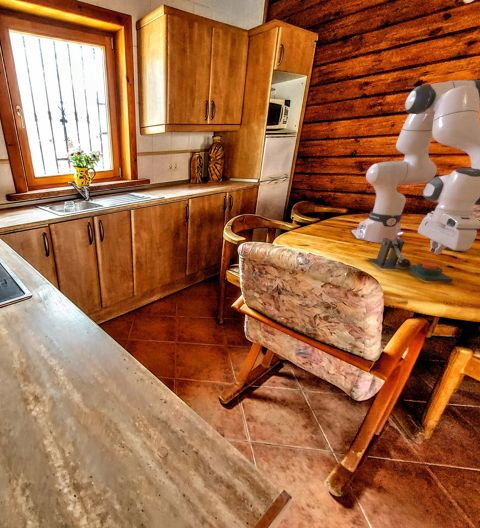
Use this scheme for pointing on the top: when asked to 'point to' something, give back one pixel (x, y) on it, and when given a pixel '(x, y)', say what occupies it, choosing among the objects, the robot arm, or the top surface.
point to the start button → (430, 265)
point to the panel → (429, 273)
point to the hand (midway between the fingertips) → (434, 252)
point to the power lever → (399, 255)
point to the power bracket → (383, 253)
